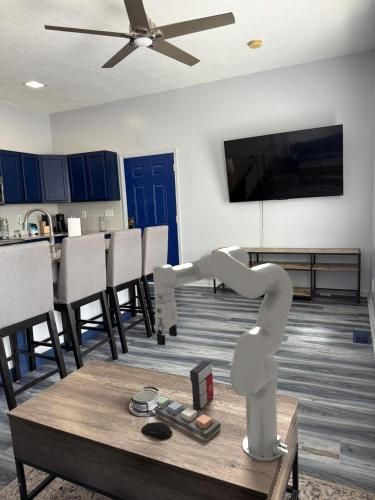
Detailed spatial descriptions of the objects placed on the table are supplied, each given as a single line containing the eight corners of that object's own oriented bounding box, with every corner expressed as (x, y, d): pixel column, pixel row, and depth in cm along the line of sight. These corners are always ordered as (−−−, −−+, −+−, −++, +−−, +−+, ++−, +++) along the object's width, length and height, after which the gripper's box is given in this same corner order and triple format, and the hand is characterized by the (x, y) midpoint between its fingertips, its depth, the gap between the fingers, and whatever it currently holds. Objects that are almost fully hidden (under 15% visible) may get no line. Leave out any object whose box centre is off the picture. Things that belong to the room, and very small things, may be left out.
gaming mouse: (140, 423, 131) (140, 413, 131) (175, 433, 124) (175, 422, 124) (130, 433, 126) (129, 422, 125) (166, 443, 119) (165, 432, 118)
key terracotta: (212, 423, 124) (211, 418, 124) (204, 429, 121) (204, 423, 121) (203, 419, 127) (203, 414, 126) (196, 424, 124) (195, 419, 123)
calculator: (201, 410, 137) (199, 373, 135) (191, 407, 139) (189, 370, 137) (214, 397, 146) (213, 362, 144) (205, 394, 148) (203, 360, 146)
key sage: (169, 403, 138) (169, 398, 138) (162, 408, 135) (161, 403, 135) (162, 400, 141) (162, 395, 140) (155, 404, 138) (154, 400, 138)
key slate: (182, 409, 133) (182, 404, 133) (175, 414, 130) (175, 409, 130) (175, 406, 136) (174, 401, 136) (167, 411, 133) (167, 406, 133)
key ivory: (196, 416, 129) (196, 411, 128) (189, 421, 126) (189, 416, 125) (188, 412, 131) (188, 407, 131) (181, 417, 128) (181, 412, 128)
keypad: (220, 429, 124) (220, 422, 124) (206, 441, 118) (205, 433, 118) (162, 402, 144) (162, 396, 143) (148, 411, 138) (147, 405, 138)
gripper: (162, 303, 126) (165, 349, 128) (183, 292, 142) (185, 333, 144) (144, 302, 129) (147, 347, 131) (166, 291, 145) (169, 331, 147)
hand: (167, 340), depth 137 cm, fingers open, 9 cm apart
